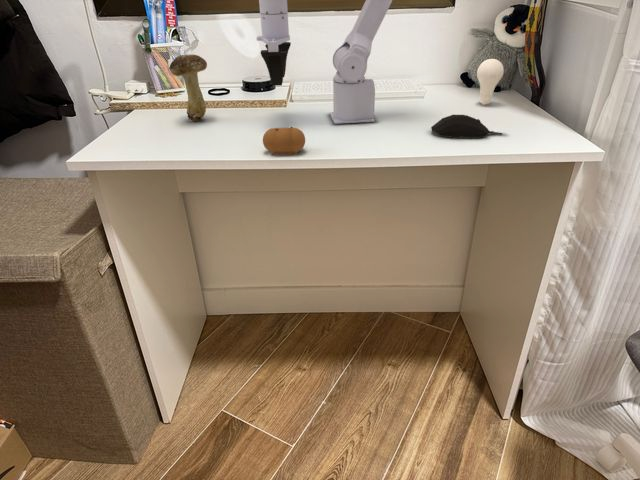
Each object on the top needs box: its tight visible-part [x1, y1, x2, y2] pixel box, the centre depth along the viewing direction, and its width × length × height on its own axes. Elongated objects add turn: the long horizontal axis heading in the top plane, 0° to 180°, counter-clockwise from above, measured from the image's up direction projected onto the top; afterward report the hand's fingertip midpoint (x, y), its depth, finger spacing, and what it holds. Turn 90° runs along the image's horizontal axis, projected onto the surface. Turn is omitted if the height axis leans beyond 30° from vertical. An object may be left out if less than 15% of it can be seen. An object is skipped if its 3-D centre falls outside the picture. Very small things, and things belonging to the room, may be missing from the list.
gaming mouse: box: [430, 114, 503, 139], centre depth 93 cm, size 6×15×4 cm, turn 83°
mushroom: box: [168, 53, 208, 122], centre depth 102 cm, size 9×9×15 cm
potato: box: [262, 126, 306, 155], centre depth 86 cm, size 8×5×5 cm, turn 90°
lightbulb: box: [476, 58, 505, 106], centre depth 109 cm, size 6×6×11 cm
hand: (278, 81), depth 98 cm, fingers open, 7 cm apart
